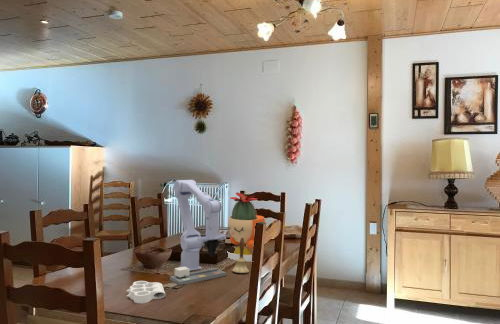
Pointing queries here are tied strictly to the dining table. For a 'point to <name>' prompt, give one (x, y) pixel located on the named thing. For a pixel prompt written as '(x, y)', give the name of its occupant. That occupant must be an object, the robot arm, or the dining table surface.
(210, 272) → the selector board
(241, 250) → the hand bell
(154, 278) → the dining table surface
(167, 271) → the dining table surface
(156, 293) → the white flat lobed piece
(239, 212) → the potted cactus
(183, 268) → the white block
